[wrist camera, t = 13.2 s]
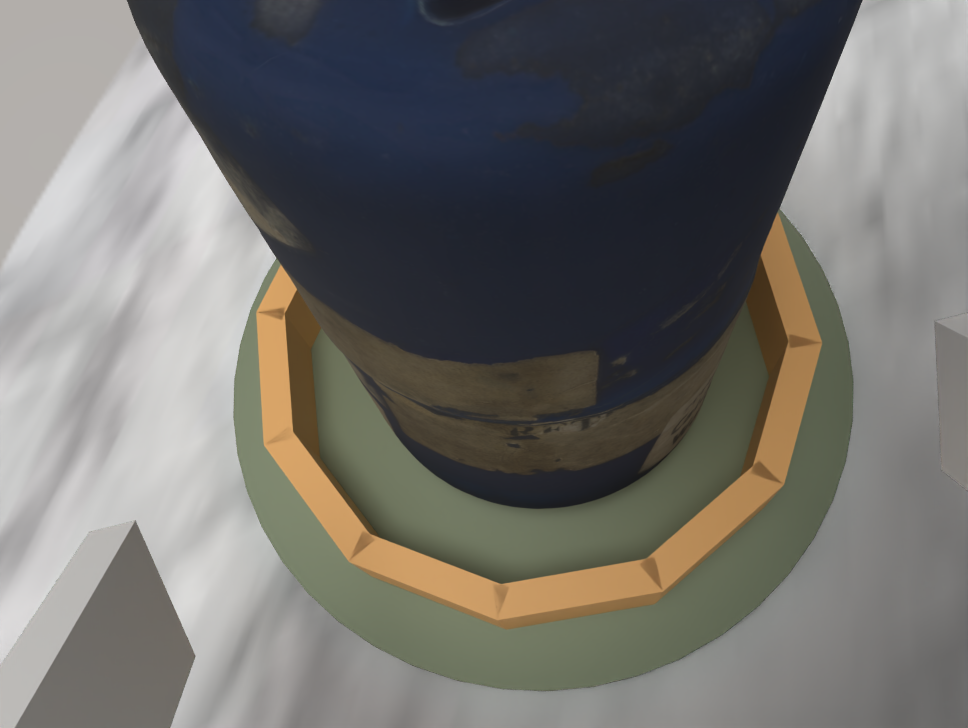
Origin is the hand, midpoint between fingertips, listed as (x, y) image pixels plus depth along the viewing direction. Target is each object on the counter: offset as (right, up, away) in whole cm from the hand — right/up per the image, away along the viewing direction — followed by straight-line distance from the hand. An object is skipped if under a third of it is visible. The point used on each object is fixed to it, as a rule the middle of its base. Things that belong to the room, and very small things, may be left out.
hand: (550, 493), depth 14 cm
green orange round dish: (0, +2, +12) cm, 12 cm away
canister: (+1, +2, +11) cm, 12 cm away
